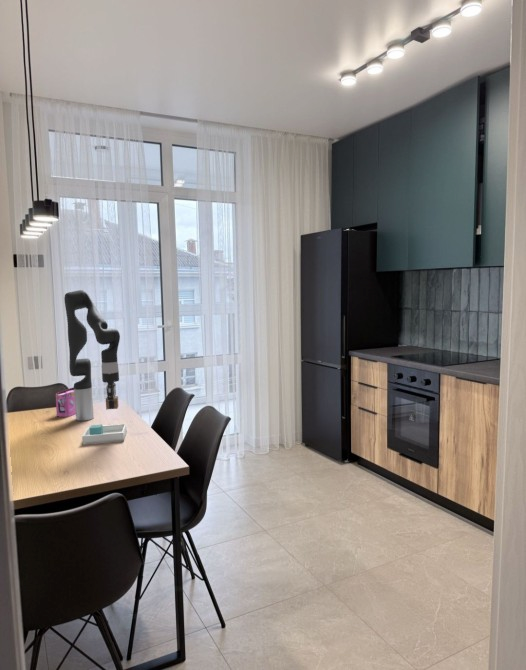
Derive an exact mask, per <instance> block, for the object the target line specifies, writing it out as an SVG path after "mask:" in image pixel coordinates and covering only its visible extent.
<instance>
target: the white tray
mask: <svg viewBox="0 0 526 670" xmlns="http://www.w3.org/2000/svg"><path fill="white" fill-rule="evenodd" d="M90 427H91V426H87V428H86V429H85V430H84V433H83V434H82V436H81V439H82V440H81V441H82V445H83V446H87V445H88V446H89V445H97V444H98V445H99V444H108V443H118V442H124V441H125V439H126V435H127V432H128V430H127V428H128V427H127V423H119V424H108V425H107V424H106V425H103V424H102V428H103V434H98V435H90Z"/></svg>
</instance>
